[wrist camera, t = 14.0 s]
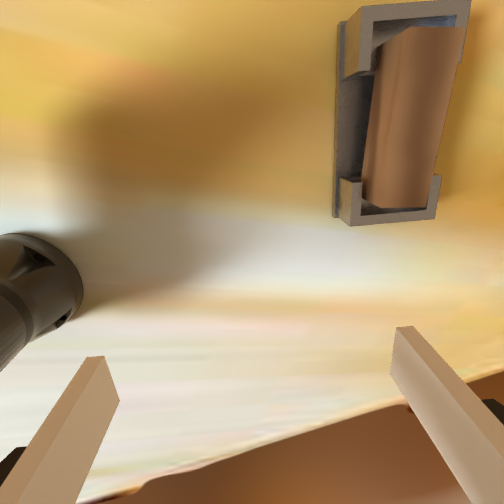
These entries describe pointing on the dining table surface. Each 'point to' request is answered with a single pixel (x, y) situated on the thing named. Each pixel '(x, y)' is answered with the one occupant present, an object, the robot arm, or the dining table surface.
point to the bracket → (360, 96)
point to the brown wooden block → (409, 114)
